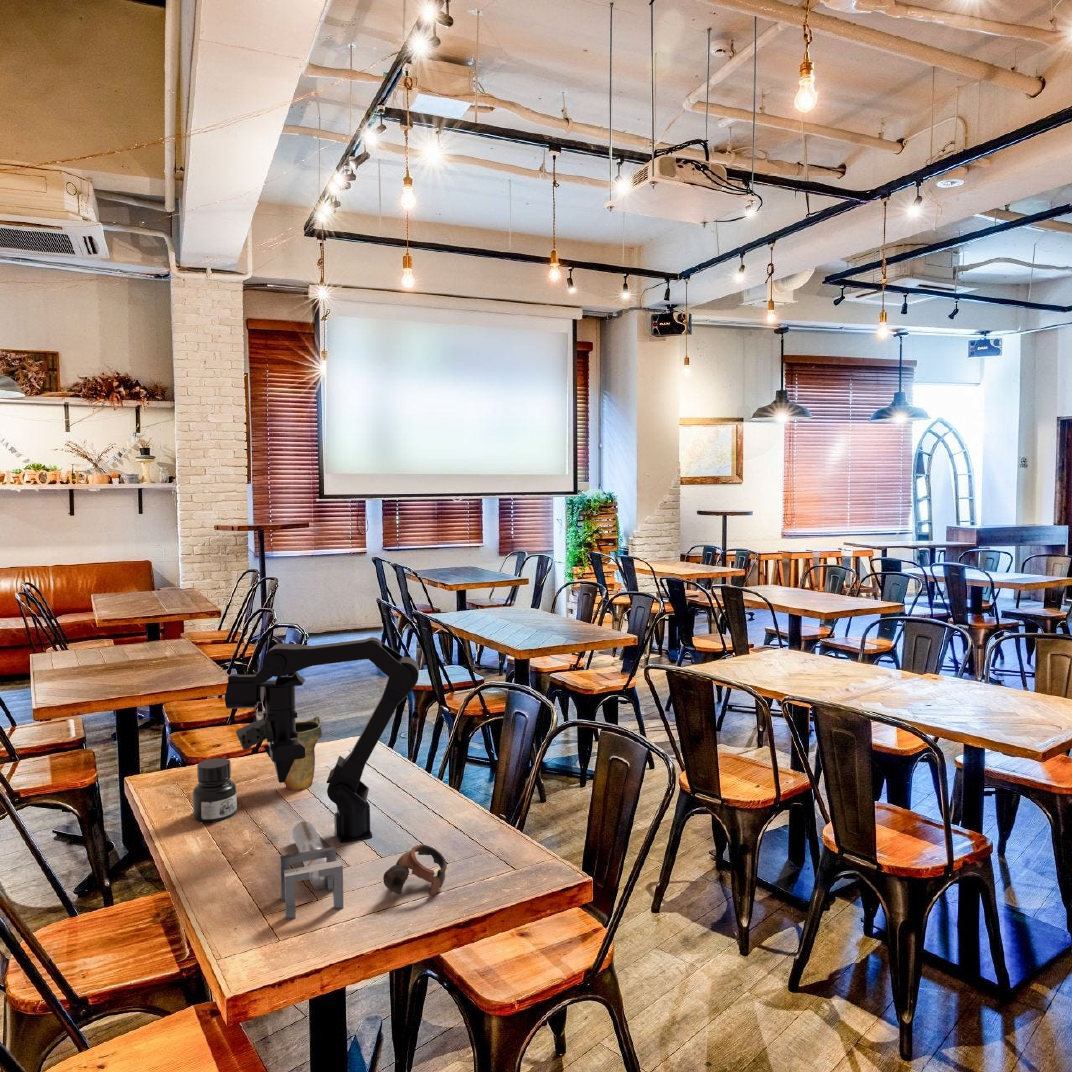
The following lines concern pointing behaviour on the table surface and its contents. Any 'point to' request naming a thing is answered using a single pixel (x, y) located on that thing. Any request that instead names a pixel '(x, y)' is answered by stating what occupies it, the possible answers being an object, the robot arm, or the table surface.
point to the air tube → (310, 841)
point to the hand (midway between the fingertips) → (281, 782)
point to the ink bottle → (214, 791)
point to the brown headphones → (416, 870)
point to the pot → (305, 767)
